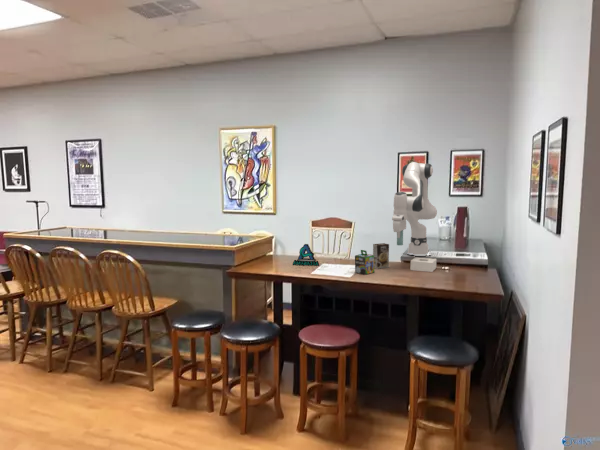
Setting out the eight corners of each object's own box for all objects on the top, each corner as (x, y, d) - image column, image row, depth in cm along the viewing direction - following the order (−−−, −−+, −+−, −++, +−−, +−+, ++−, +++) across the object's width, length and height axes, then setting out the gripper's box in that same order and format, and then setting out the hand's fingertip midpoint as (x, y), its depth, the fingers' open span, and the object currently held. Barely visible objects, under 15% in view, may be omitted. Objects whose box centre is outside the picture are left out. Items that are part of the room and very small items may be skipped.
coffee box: (377, 268, 277) (377, 245, 275) (372, 267, 283) (372, 243, 281) (389, 267, 280) (389, 244, 278) (383, 265, 286) (384, 242, 284)
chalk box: (374, 272, 266) (374, 249, 265) (365, 275, 260) (365, 251, 259) (363, 270, 273) (363, 248, 272) (354, 272, 267) (354, 250, 266)
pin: (397, 244, 279) (397, 229, 278) (403, 244, 277) (403, 229, 276) (396, 245, 276) (396, 230, 275) (402, 245, 274) (402, 230, 273)
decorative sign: (319, 265, 291) (319, 244, 289) (318, 266, 289) (318, 244, 287) (293, 264, 296) (293, 243, 294) (292, 265, 293) (292, 244, 292)
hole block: (415, 265, 284) (415, 257, 284) (436, 267, 278) (436, 258, 277) (410, 270, 272) (410, 261, 271) (432, 272, 265) (432, 262, 265)
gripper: (399, 215, 285) (399, 235, 287) (391, 218, 267) (391, 239, 269) (408, 215, 282) (408, 235, 284) (401, 218, 264) (400, 239, 266)
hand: (399, 237), depth 276 cm, fingers closed on pin, 4 cm apart
